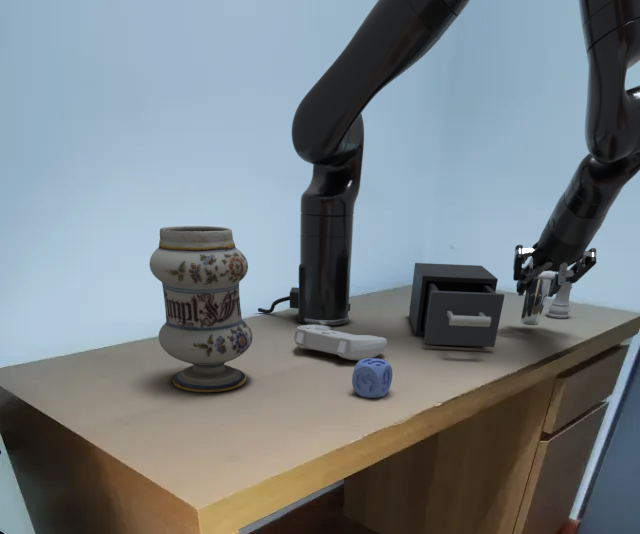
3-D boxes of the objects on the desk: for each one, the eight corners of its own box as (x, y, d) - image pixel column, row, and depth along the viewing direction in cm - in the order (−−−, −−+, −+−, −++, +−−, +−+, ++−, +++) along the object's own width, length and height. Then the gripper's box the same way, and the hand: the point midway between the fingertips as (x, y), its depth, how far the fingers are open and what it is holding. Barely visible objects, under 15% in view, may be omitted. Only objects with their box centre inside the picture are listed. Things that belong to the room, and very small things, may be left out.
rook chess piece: (571, 319, 116) (583, 275, 111) (550, 318, 116) (561, 274, 111) (564, 314, 119) (575, 271, 115) (543, 313, 119) (553, 271, 115)
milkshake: (549, 327, 105) (565, 266, 99) (520, 325, 104) (535, 264, 99) (541, 322, 108) (557, 263, 102) (513, 320, 108) (528, 260, 102)
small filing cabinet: (486, 338, 101) (498, 278, 95) (415, 335, 101) (422, 275, 95) (472, 319, 112) (481, 265, 107) (408, 317, 113) (415, 262, 107)
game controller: (394, 334, 89) (362, 331, 81) (389, 363, 90) (357, 363, 83) (319, 319, 95) (283, 315, 87) (315, 347, 97) (280, 345, 89)
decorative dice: (364, 386, 78) (366, 356, 75) (391, 391, 76) (394, 361, 74) (350, 394, 75) (352, 363, 72) (378, 400, 73) (381, 369, 71)
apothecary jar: (209, 362, 84) (197, 220, 74) (272, 379, 79) (269, 228, 68) (145, 382, 76) (121, 226, 66) (210, 402, 71) (196, 236, 60)
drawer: (501, 356, 88) (513, 302, 84) (428, 353, 88) (435, 299, 84) (479, 327, 104) (488, 280, 99) (417, 324, 104) (422, 277, 99)
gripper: (620, 202, 89) (573, 275, 105) (528, 198, 89) (496, 271, 106) (621, 245, 87) (573, 312, 104) (528, 241, 88) (495, 308, 105)
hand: (534, 291), depth 105 cm, fingers closed on milkshake, 4 cm apart
